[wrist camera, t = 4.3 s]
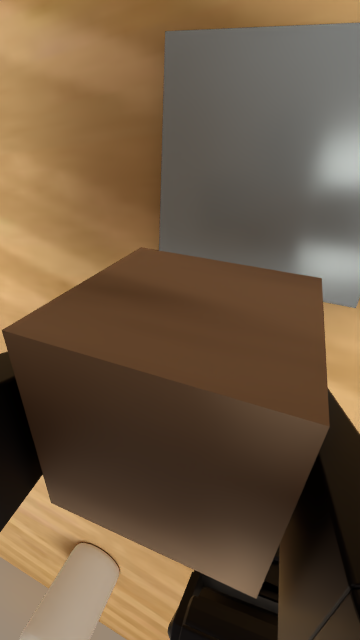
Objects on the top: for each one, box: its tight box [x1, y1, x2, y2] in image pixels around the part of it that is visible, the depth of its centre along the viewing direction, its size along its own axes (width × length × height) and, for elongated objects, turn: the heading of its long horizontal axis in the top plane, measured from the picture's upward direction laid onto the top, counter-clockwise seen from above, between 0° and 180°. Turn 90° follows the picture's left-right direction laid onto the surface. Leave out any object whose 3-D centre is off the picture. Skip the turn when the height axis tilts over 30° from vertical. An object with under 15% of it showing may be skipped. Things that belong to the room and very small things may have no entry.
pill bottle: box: [19, 543, 119, 640], centre depth 41 cm, size 8×8×15 cm
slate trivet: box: [159, 23, 360, 308], centre depth 16 cm, size 12×12×1 cm
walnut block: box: [2, 248, 330, 598], centre depth 8 cm, size 5×5×5 cm
